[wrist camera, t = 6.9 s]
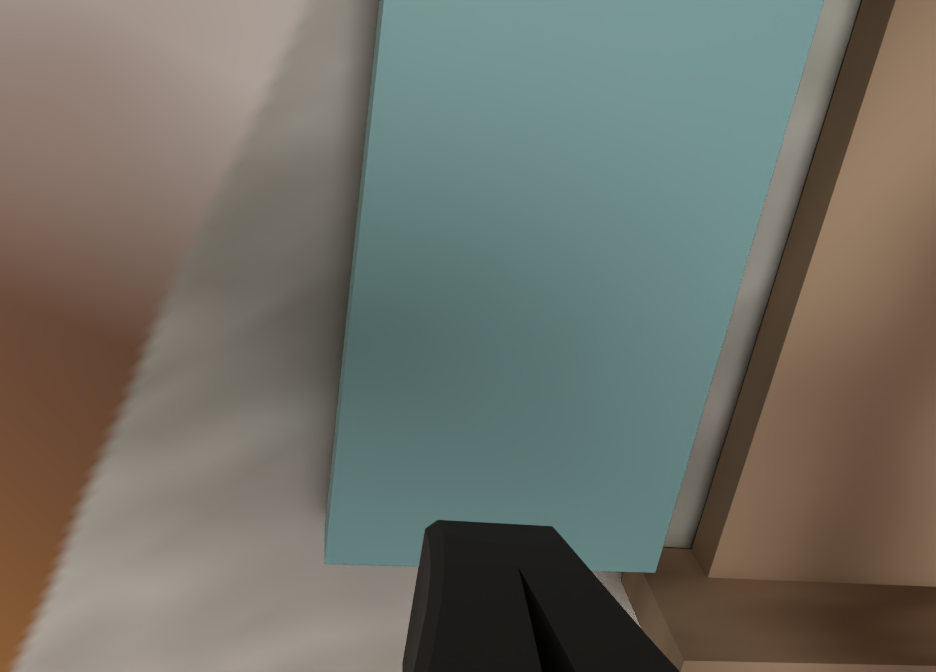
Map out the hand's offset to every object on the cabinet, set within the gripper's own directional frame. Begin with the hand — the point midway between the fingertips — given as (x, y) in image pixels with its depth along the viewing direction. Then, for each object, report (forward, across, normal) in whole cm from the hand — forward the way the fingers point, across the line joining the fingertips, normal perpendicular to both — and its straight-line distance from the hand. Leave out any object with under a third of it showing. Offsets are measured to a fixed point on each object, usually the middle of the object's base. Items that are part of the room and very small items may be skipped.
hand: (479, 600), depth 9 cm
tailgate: (+8, -6, -1) cm, 10 cm away
